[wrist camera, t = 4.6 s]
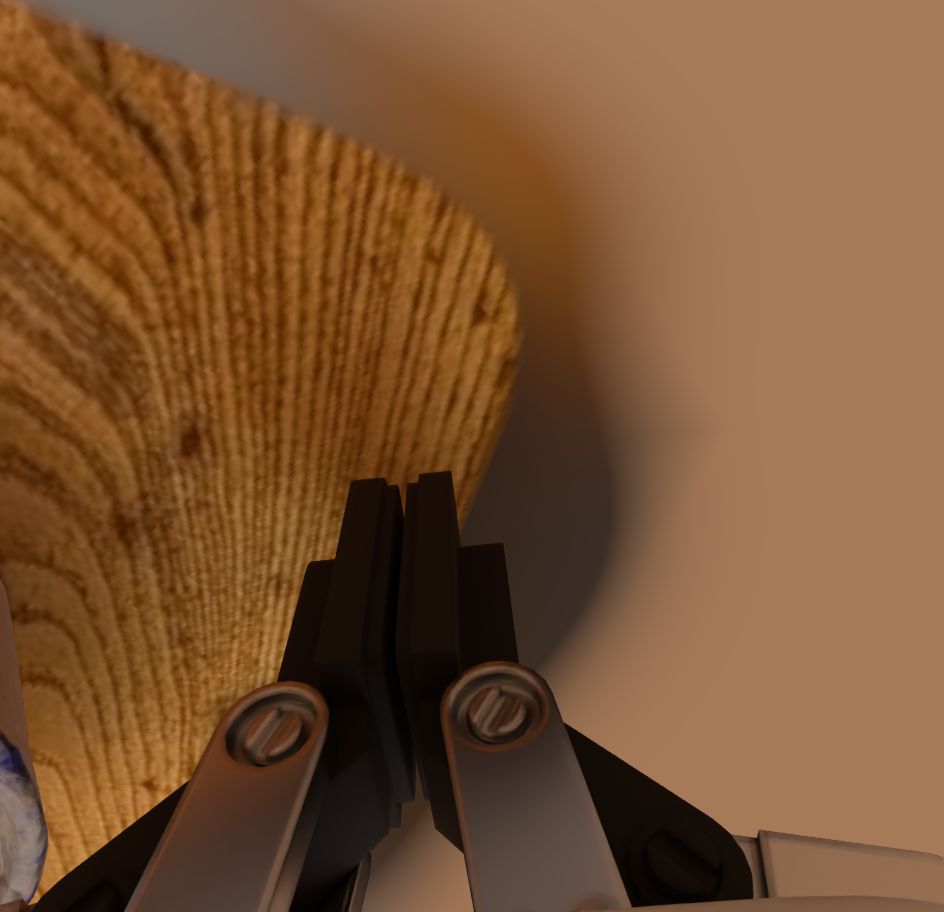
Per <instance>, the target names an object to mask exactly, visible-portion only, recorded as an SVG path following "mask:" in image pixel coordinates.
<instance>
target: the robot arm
mask: <svg viewBox="0 0 944 912" xmlns="http://www.w3.org/2000/svg"><path fill="white" fill-rule="evenodd" d="M416 762H417V766H418V771H419V776H420V780H421V785H422V790H423V795H424V799H425V800H430V805H431V810H432V815H433V819H434V824H435V829H436V830H438V831H439V832H440V833H441V834H442V835H443V836H444V837H445V838H447V839H448V840H449V841H450V842H451V843H452V844H453V845H454V846H456V847H457V848H458V849H459V850H460V851H461V852H462V853H463V854H464V858H465V864H466V870H467V875H468V881H469V886H470V892H471V897H472V902H473V908H474V912H944V857H941V856H938V855H934V854H931V853H925V852H918V851H910V850H904V849H896V848H889V847H882V846H875V845H867V844H860V843H852V842H845V841H838V840H830V839H823V838H815V837H808V836H800V835H794V834H786V833H779V832H772V831H765V830H759V831H758V836H757V838H752V837H745V836H738V835H731V834H730V833H729V832H728V831H727V830H726V829H724V828H723V827H722V826H721V825H720V824H718V823H717V822H716V821H715V820H714V819H712V818H711V817H709V816H708V815H706V814H705V813H703V812H702V811H700V810H698V809H697V808H695V807H694V806H692V805H691V804H689V803H688V802H686V801H685V800H683V799H681V798H680V797H678V796H677V795H675V794H674V793H672V792H671V791H669V790H668V789H666V788H665V787H663V786H661V785H660V784H658V783H657V782H655V781H654V780H652V779H651V778H649V777H648V776H646V775H644V774H643V773H641V772H640V771H638V770H637V769H635V768H634V767H632V766H630V765H629V764H627V763H626V762H624V761H623V760H621V759H620V758H618V757H617V756H615V755H614V754H612V753H611V752H609V751H607V750H606V749H604V748H603V747H601V746H600V745H598V744H597V743H595V742H594V741H592V740H590V739H589V738H587V737H586V736H584V735H583V734H581V733H580V732H578V731H577V730H575V729H573V728H572V727H570V726H569V725H567V724H566V723H564V722H563V720H562V717H561V714H560V712H559V709H558V706H557V703H556V701H555V698H554V695H553V693H552V691H551V689H550V688H549V686H548V684H547V682H546V681H545V680H544V679H543V678H542V677H541V676H539V674H537V673H536V672H535V671H534V670H532V669H530V668H528V667H525V666H523V665H521V664H519V661H518V653H517V647H516V639H515V630H514V622H513V616H512V607H511V599H510V592H509V584H508V576H507V569H506V561H505V554H504V546H503V543H494V544H484V545H474V546H464V547H461V543H460V535H459V527H458V519H457V511H456V503H455V495H454V487H453V479H452V473H451V471H444V472H434V473H423V474H419V478H418V483H408V484H407V490H406V503H405V516H404V513H403V507H402V501H401V496H400V490H399V487H398V485H388V486H387V482H386V479H385V478H384V477H383V478H373V479H363V480H353V481H351V484H350V489H349V493H348V498H347V503H346V508H345V513H344V518H343V522H342V527H341V532H340V537H339V542H338V547H337V551H336V556H335V559H331V560H320V561H311V562H310V563H309V564H308V566H307V569H306V572H305V576H304V579H303V583H302V587H301V591H300V595H299V599H298V603H297V606H296V610H295V614H294V618H293V622H292V626H291V630H290V633H289V637H288V641H287V645H286V649H285V653H284V657H283V661H282V664H281V668H280V672H279V676H278V680H277V682H276V683H271V684H269V685H266V686H263V687H260V688H257V689H255V690H253V691H252V692H250V693H248V694H247V695H245V696H243V697H241V698H240V699H239V700H238V701H237V702H236V703H235V704H234V705H232V706H231V707H230V708H229V709H228V710H227V711H226V713H225V714H224V716H223V717H222V719H221V720H220V722H219V723H218V725H217V727H216V729H215V731H214V733H213V735H212V737H211V739H210V741H209V743H208V745H207V747H206V749H205V751H204V753H203V755H202V757H201V759H200V761H199V763H198V765H197V767H196V769H195V771H194V773H193V775H192V777H191V779H190V780H189V781H188V782H186V783H185V784H184V785H182V786H181V787H180V788H179V789H177V790H176V791H175V792H173V793H172V794H171V795H169V796H168V797H167V798H166V799H164V800H163V801H162V802H160V803H159V804H158V805H156V806H155V807H154V808H153V809H151V810H150V811H149V812H147V813H146V814H145V815H144V816H142V817H141V818H140V819H138V820H137V821H136V822H134V823H133V824H132V825H131V826H129V827H128V828H127V829H125V830H124V831H123V832H122V833H120V834H119V835H118V836H116V837H115V838H114V839H112V840H111V841H110V842H109V843H107V844H106V845H105V846H103V847H102V848H101V849H99V850H98V851H97V852H96V853H94V854H93V855H92V856H90V857H89V858H88V859H87V860H85V861H84V862H83V863H81V864H80V865H79V866H77V867H76V868H75V869H74V870H72V871H71V872H70V873H68V874H67V875H66V876H65V877H63V878H62V879H61V880H60V881H58V882H57V883H56V884H55V885H54V886H53V887H52V888H51V889H50V890H49V891H48V892H47V893H46V894H44V895H43V896H42V897H41V898H40V900H39V901H38V902H37V903H35V904H32V905H28V904H27V903H26V902H25V901H24V899H23V898H21V899H17V900H14V901H11V902H8V903H5V904H2V905H0V912H361V910H362V905H363V901H364V897H365V893H366V888H367V883H368V879H369V875H370V867H371V854H370V851H371V850H372V849H373V848H374V847H375V846H376V845H377V844H378V843H379V842H380V841H381V840H382V839H383V838H384V837H385V836H386V835H387V834H388V833H389V828H396V827H401V809H402V803H405V802H413V801H414V798H415V782H416Z"/></svg>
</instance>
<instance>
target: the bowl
mask: <svg viewBox="0 0 944 912" xmlns="http://www.w3.org/2000/svg"><path fill="white" fill-rule="evenodd" d="M48 846H49V845H48V830H47V826H46V822H45V818H44V813H43V808H42V803H41V797H40V792H39V787H38V785H37V781H36V775H35V771H34V767H33V763H32V758H31V753H30V749H29V743H28V733H27V726H26V719H25V713H24V705H23V695H22V688H21V681H20V674H19V667H18V660H17V654H16V647H15V639H14V630H13V623H12V618H11V613H10V608H9V603H8V598H7V593H6V589H5V587H4V585H3V582H2V580H1V578H0V905H2V904H5V903H8V902H11V901H14V900H17V899H21V898H23V899H24V901H25V902H26V903H27V904H28V903H29V902H30V901H31V899H32V898H33V897H34V894H35V892H36V890H37V887H38V885H39V883H40V880H41V878H42V874H43V869H44V864H45V859H46V855H47V850H48Z"/></svg>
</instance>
